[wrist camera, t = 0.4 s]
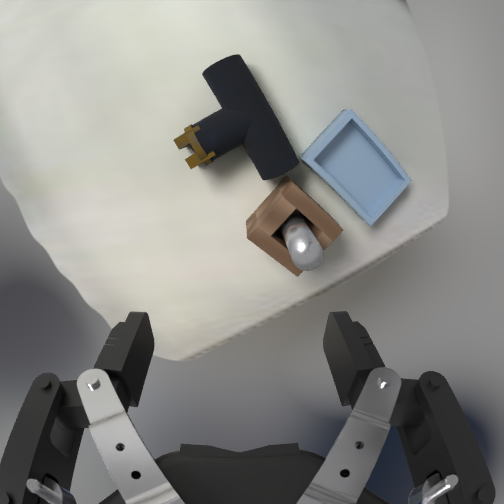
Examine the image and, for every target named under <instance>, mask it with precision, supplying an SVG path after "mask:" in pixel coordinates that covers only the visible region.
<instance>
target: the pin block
mask: <svg viewBox="0 0 504 504" xmlns="http://www.w3.org/2000/svg"><path fill="white" fill-rule="evenodd" d="M295 209H298V210H299V211H300V212H301V213H302V214H303V215H304V216H306V217H307V218H308V219H307V220H306V221H305V222H306V224H307V225H308V227H309V228H310V230H311V231H312V233H313V234H314V236H315V238H316V239H317V241H318V242H319V244H320V245H321V247H322V249H323V251H324V250H325V248H326V247H327V246H328V245H329V244H330V243H331V242H332V241H333V240H334V239H335V238H336V237H337V236H338V235H339V234H340V233H341V232H342V231H343V229H342V228H341V227H340V226H339V224H338V223H337V222H336V221H335V220H334V219H333V218H332V217H331V216H330V215H329V214H328V213H327V212H326V211H325V210H324V209H323V208H322V207H321V206H320V205H319V204H318V203H316V202H315V201H314V200H313V199H312V198H311V197H310V196H309V195H308V194H307V193H305V192H304V191H303V190H302V189H301V188H300V187H299V186H298V185H297V184H295V183H294V182H293V181H292V180H291V179H290V178H289V177H287V176H286V177H285V178H284V179H283V180H282V181H281V182H280V184H279V185H278V186H277V187H276V188H275V189H274V190H273V191H272V193H271V194H270V195H269V196H268V197H267V198H266V199H265V200H264V202H263V203H262V204H261V205H260V206H259V207H258V208H257V209H256V211H255V212H254V213H253V214H252V215H251V216H250V217H249V218H248V220H247V221H246V228H247V238H248V239H249V240H250V241H252V242H253V243H254V244H255V245H257V246H258V247H259V248H261V249H262V250H263V251H265V252H266V253H267V254H269V255H270V256H271V257H272V258H274V259H275V260H276V261H278V262H279V263H280V264H282V265H283V266H284V267H286V268H287V269H288V270H289V271H291V272H292V273H293V274H295V275H296V276H297V277H298V276H299V275H300V274H301V273H302V272H303V271H304V270H300V269H298V268H297V267H296V266H295V265H294V263H293V261H292V258H291V255H290V253H289V250H288V248H287V245H286V242H285V240H284V237H283V234H282V232H281V231H279V230H278V227H279V226H280V225H281V224H282V223H283V222H284V221H285V220H286V219H287V218H288V217H289V216H290V214H291V213H292V212H293V211H294V210H295Z"/></svg>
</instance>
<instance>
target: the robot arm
mask: <svg viewBox="0 0 504 504" xmlns="http://www.w3.org/2000/svg"><path fill="white" fill-rule="evenodd" d="M323 348H324V352H325V355H326V358H327V361H328V364H329V367H330V370H331V373H332V376H333V379H334V382H335V386H336V389H337V392H338V395H339V398H340V401H341V404H342V406H347V405H351V407H352V412H351V414H350V416H349V418H348V419H347V421H346V423H345V425H344V427H343V429H342V431H341V433H340V434H339V436H338V438H337V440H336V442H335V444H334V445H333V447H332V449H331V450H330V452H329V454H328V455H327V457H326V458H324V457H322V456H320V455H318V454H315V453H312V452H309V451H304V450H299V446H298V443H292V444H280V445H268V446H265V447H261V448H257V449H253V450H249V451H245V452H234V451H229V450H225V449H221V448H216V447H212V446H207V445H206V446H205V445H190V444H181V448H180V451H175V452H171V453H168V454H165V455H162V456H160V457H159V458H157V459H154V457H153V456H152V454H151V453H150V451H149V450H148V448H147V446H146V445H145V443H144V442H143V440H142V438H141V437H140V435H139V433H138V432H137V430H136V428H135V426H134V424H133V423H132V421H131V419H130V417H129V415H128V414H127V412H128V408H129V406H133V407H138V404H139V400H140V397H141V393H142V389H143V386H144V382H145V379H146V375H147V371H148V368H149V365H150V361H151V358H152V355H153V351H154V337H153V333H152V329H151V325H150V320H149V316H148V314H147V313H146V312H130V313H129V315H128V317H127V319H126V321H125V322H119V323H118V324H117V325H116V326H115V327H114V328H113V329H112V330H111V332H110V334H109V336H108V339H107V340H106V342H105V345H104V347H103V349H102V351H101V353H100V355H99V357H98V359H97V361H96V363H95V366H94V368H93V369H90V370H87V371H85V372H84V373H82V374H81V375H80V376H79V378H78V380H73V381H62V382H60V380H59V379H58V377H57V376H56V375H55V374H53V373H43V374H41V375H39V376H38V377H37V378H36V379H35V380H34V382H33V383H32V386H31V388H30V390H29V392H28V394H27V396H26V398H25V401H24V403H23V405H22V407H21V410H20V412H19V415H18V417H17V419H16V422H15V424H14V427H13V430H12V432H11V434H10V437H9V440H8V442H7V445H6V448H5V451H4V454H3V457H2V460H1V463H0V504H76V500H75V498H74V496H73V495H72V494H71V493H70V487H71V482H72V477H73V472H74V468H75V463H76V459H77V455H78V450H79V447H80V443H81V439H82V435H83V431H84V428H89V429H90V432H91V434H92V437H93V439H94V441H95V444H96V446H97V448H98V451H99V453H100V455H101V457H102V459H103V461H104V463H105V466H106V468H107V469H108V471H109V473H110V475H111V477H112V479H113V481H114V483H115V485H116V486H117V488H118V489H117V490H116V491H115V492H114V493H112V494H111V495H110V496H108V497H107V498H106V499H104V500H103V501H102V502H100V503H99V504H390V503H388V502H387V501H385V500H384V499H382V498H381V497H379V496H378V495H376V494H375V493H373V492H372V491H370V490H369V489H367V488H366V487H364V486H365V484H366V482H367V480H368V478H369V476H370V474H371V472H372V470H373V468H374V465H375V463H376V461H377V459H378V456H379V454H380V452H381V449H382V447H383V444H384V442H385V439H386V437H387V434H388V431H389V429H390V426H396V427H397V430H398V433H399V437H400V439H401V443H402V446H403V449H404V452H405V455H406V459H407V462H408V465H409V469H410V472H411V476H412V479H413V483H414V487H415V488H414V489H413V491H412V492H411V494H410V496H409V504H493V501H494V499H495V487H494V484H493V482H492V479H491V476H490V473H489V470H488V468H487V466H486V463H485V460H484V458H483V455H482V453H481V450H480V448H479V446H478V443H477V441H476V439H475V437H474V435H473V432H472V430H471V428H470V426H469V423H468V422H467V419H466V417H465V415H464V413H463V411H462V409H461V407H460V405H459V403H458V401H457V399H456V397H455V395H454V393H453V391H452V390H451V388H450V386H449V384H448V382H447V381H446V379H445V378H444V376H442V375H441V374H440V373H437V372H434V371H428V372H425V373H423V374H422V375H421V377H420V378H419V380H413V379H402V378H400V376H399V375H398V374H397V373H396V372H395V371H394V370H392V369H390V368H386V367H385V365H384V363H383V361H382V359H381V357H380V355H379V353H378V351H377V349H376V347H375V346H374V344H373V342H372V340H371V338H370V336H369V334H368V332H367V330H366V329H365V328H364V327H363V326H362V325H361V324H360V323H359V322H352V320H351V318H350V316H349V314H348V313H347V312H346V311H341V312H330V313H329V316H328V320H327V325H326V329H325V334H324V338H323Z"/></svg>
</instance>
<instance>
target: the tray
mask: <svg viewBox="0 0 504 504" xmlns="http://www.w3.org/2000/svg"><path fill="white" fill-rule="evenodd" d="M299 158H300V159H301V160H302V161H303V162H305V163H306V164H307V165H308V166H309V167H310V168H311V169H312V170H313V171H314V172H315V173H316V174H317V175H318V176H320V177H321V178H322V179H323V180H324V181H325V182H326V183H327V184H328V185H329V186H330V187H331V188H332V189H333V190H334V191H335V192H336V193H337V194H338V195H339V196H340V197H341V198H342V199H343V200H344V201H345V202H346V203H347V204H348V205H349V206H350V207H351V208H352V209H353V210H354V211H355V212H356V213H357V214H358V215H359V216H360V217H361V218H362V219H363V220H364V221H365V222H366V223H367V224H368V225H369V226H371V225H372V224H373V223H374V222H375V221H376V220H377V219H378V218H379V217H380V216H381V215H382V214H383V212H384V211H385V210H386V209H387V208H388V207H389V206H390V205H391V204H392V203H393V201H394V200H395V199H396V198H397V197H398V196H399V195H400V194H401V192H402V191H403V190H404V189H405V188H406V187H407V186H408V184H409V183H410V182H411V181H412V180H411V179H410V177H409V176H408V175H407V173H406V172H405V171H404V169H403V168H402V167H401V166H400V164H399V163H398V162H397V161H396V159H395V158H394V157H393V156H392V154H391V153H390V152H389V151H388V149H387V148H386V147H385V146H384V145H383V143H382V142H381V141H380V140H379V139H378V138H377V136H376V135H375V134H374V133H373V132H372V131H371V130H370V129H369V127H368V126H367V125H366V124H365V123H364V122H363V121H362V120H361V119H360V118H359V117H358V116H357V114H356V113H355V112H354V111H353V110H352V109H349V110H343V111H342V112H341V113H340V114H339V115H338V116H337V117H336V118H335V119H334V120H333V121H332V122H331V123H330V125H329V126H328V127H327V128H326V129H325V130H324V131H323V132H322V133H321V134H320V135H319V136H318V137H317V139H316V140H315V141H314V142H313V143H312V144H311V145H310V146H309V147H308V148H307V149H306V150H305V152H304V153H303V154H302V155H301V156H300V157H299Z"/></svg>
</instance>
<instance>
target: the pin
mask: <svg viewBox="0 0 504 504" xmlns="http://www.w3.org/2000/svg"><path fill="white" fill-rule="evenodd" d="M279 227H280V229H281V232H282V234H283V237H284V240H285V242H286V245H287V248H288V250H289V253H290V255H291V258H292V261H293V263H294V265H295V266H296V267H297V268H298V269H300V270H304V271H308V270H312V269H315V268H316V267H318V266H319V265H320V263H321V262H322V260H323V257H324V252H323V249H322V247H321V245H320V244H319V242H318V241H317V239H316V238H315V236H314V234H313V233H312V231H311V230H310V228H309V227H308V225H307V224H306V222H305V221H304V219H303V217H302V216H301V214H300V213H299V211H298V210H297V209H295V210H294V211H293V212H292V213H291V214H290V216H289V217H288V218H287V219H286V220H285V221H284V222H283V223H282V224H281V225H280V226H279Z"/></svg>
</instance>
